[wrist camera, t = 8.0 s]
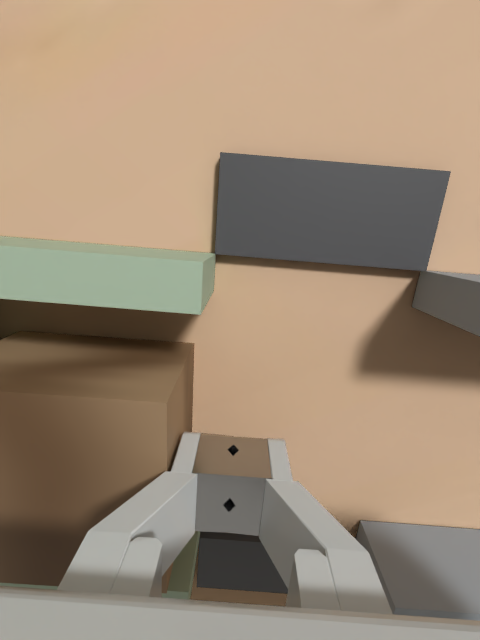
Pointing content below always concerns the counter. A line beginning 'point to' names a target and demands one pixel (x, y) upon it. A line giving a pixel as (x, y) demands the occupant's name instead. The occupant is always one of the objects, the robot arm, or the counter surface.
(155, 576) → the robot arm
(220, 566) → the trap channel
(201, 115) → the counter surface
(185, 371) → the walnut block
